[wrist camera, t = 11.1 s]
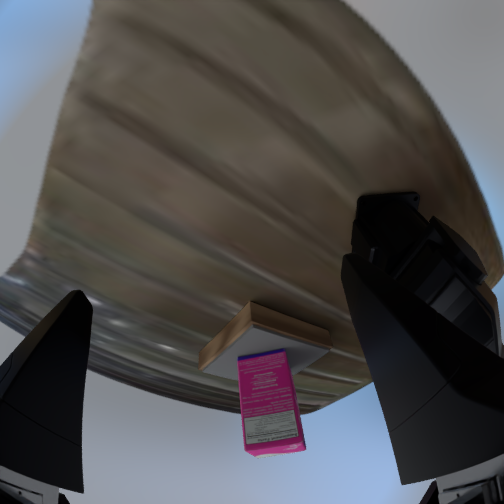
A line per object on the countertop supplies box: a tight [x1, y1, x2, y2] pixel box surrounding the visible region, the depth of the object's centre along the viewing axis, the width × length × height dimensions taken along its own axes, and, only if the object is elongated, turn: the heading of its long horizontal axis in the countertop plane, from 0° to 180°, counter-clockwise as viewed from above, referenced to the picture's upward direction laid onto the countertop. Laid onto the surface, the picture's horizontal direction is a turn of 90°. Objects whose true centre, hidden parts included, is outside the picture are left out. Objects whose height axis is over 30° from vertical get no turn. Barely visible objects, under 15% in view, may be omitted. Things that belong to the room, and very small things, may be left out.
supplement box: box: [237, 348, 306, 458], centre depth 26 cm, size 6×6×12 cm
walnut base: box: [198, 301, 333, 381], centre depth 32 cm, size 12×12×3 cm
